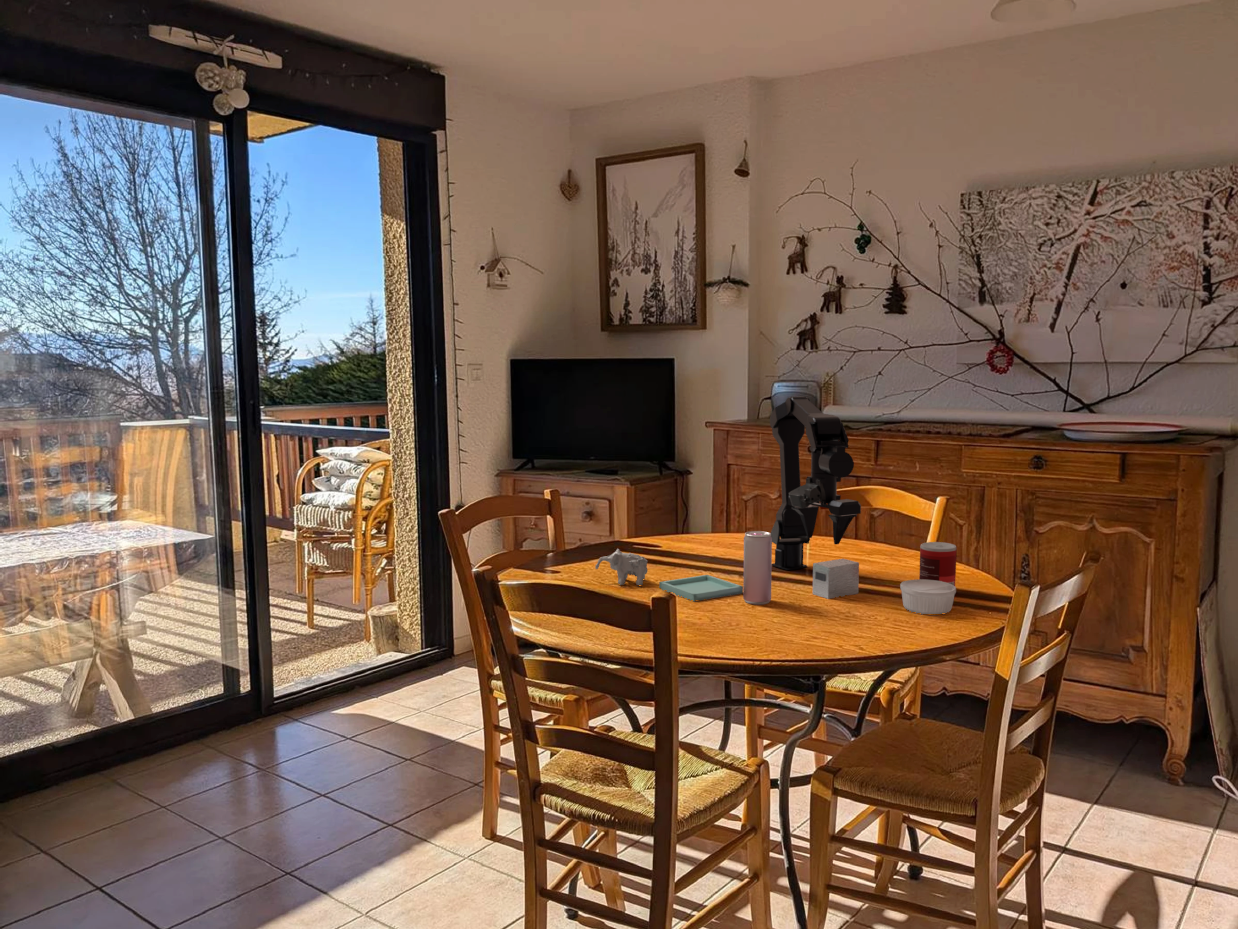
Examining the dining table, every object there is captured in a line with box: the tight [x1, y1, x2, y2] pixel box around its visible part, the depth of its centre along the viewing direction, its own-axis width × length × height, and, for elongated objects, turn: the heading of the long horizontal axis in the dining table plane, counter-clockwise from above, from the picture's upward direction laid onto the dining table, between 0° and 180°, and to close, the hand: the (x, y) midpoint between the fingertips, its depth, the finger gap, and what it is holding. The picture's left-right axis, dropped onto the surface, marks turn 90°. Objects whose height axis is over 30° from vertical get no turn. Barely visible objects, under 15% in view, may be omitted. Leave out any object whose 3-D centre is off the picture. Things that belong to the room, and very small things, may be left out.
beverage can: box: [742, 530, 773, 606], centre depth 214 cm, size 6×6×15 cm
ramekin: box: [899, 579, 957, 615], centre depth 207 cm, size 11×11×5 cm
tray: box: [658, 574, 743, 602], centre depth 224 cm, size 14×14×2 cm
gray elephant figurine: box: [595, 548, 648, 586], centre depth 231 cm, size 9×12×8 cm
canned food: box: [919, 541, 957, 587], centre depth 220 cm, size 8×8×11 cm
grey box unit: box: [812, 558, 860, 600], centre depth 220 cm, size 10×5×7 cm, turn 121°
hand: (822, 540), depth 224 cm, fingers open, 9 cm apart
